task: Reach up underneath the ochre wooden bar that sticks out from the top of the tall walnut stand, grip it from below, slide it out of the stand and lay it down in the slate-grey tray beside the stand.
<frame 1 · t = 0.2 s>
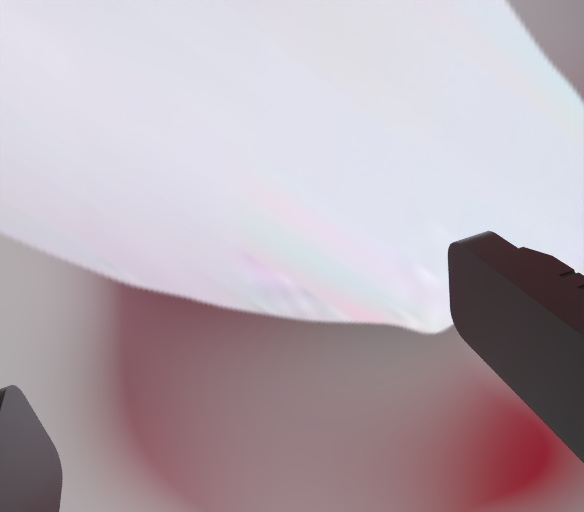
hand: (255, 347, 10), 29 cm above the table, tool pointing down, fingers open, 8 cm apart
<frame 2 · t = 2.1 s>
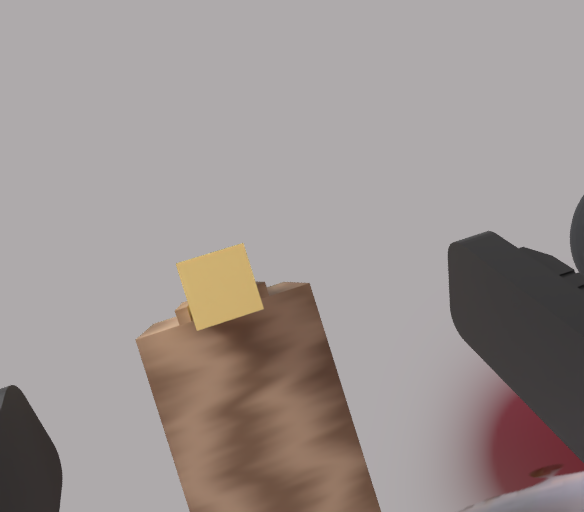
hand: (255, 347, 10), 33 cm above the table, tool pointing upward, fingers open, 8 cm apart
bar: (223, 308, 37), point 32 cm above the table, touching stand
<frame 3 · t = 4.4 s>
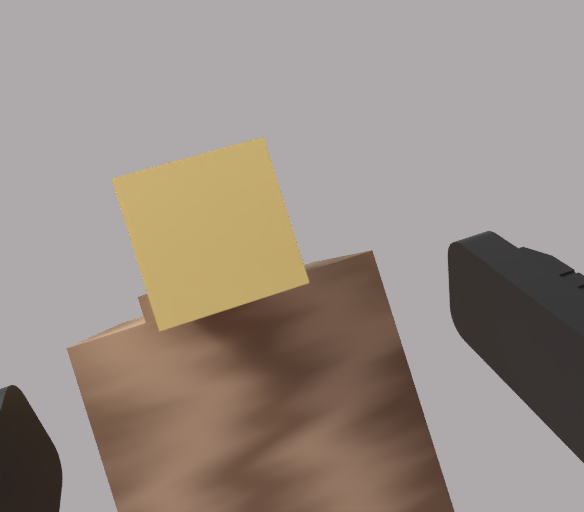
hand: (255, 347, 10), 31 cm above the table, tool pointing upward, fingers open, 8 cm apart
bar: (225, 295, 22), point 32 cm above the table, touching stand
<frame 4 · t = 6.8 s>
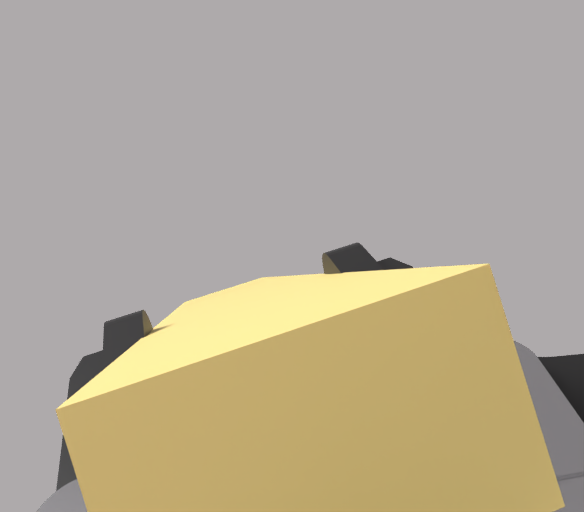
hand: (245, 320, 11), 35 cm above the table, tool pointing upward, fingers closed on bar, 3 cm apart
bar: (274, 425, 14), point 32 cm above the table, touching gripper, stand
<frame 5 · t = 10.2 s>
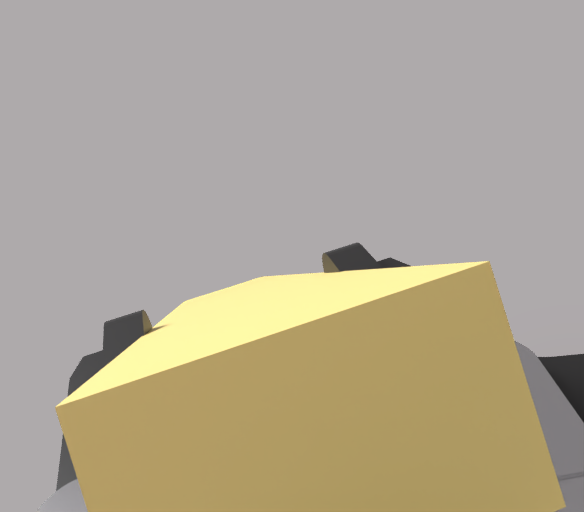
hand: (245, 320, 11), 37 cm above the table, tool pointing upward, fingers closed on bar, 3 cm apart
bar: (273, 424, 14), point 33 cm above the table, touching gripper
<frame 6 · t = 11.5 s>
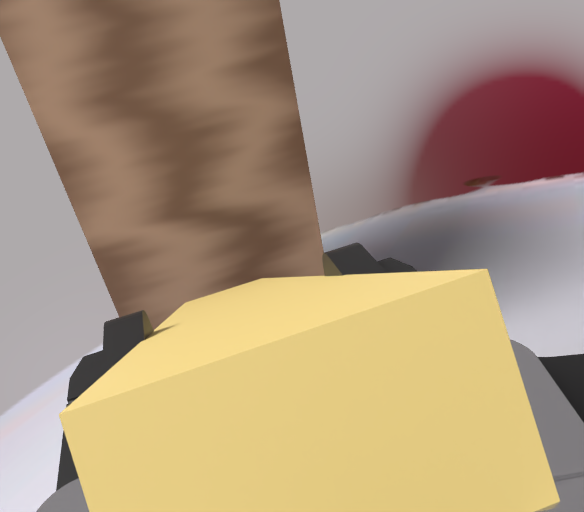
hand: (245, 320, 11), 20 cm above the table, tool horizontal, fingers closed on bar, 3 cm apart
bar: (273, 426, 14), point 15 cm above the table, tilted 30°, touching gripper
stand: (246, 361, 40), on the table
when the fingers open (11 cm above the table, at t = 13.8 s): bar drops 4 cm, resting on tray.
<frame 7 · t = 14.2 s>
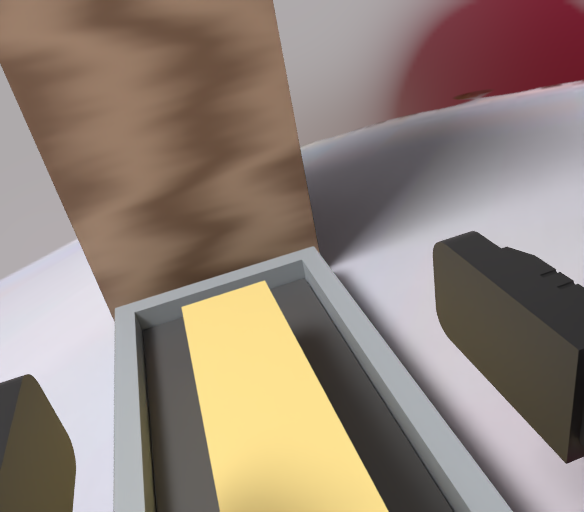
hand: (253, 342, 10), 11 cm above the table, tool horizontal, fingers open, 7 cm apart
tray: (291, 497, 19), on the table
stand: (209, 256, 36), on the table
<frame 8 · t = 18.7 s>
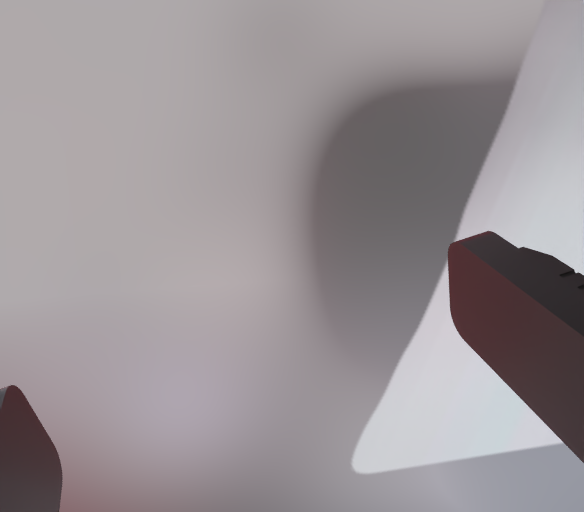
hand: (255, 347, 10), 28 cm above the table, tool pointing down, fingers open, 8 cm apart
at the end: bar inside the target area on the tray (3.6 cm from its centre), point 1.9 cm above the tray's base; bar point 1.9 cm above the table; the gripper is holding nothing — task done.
